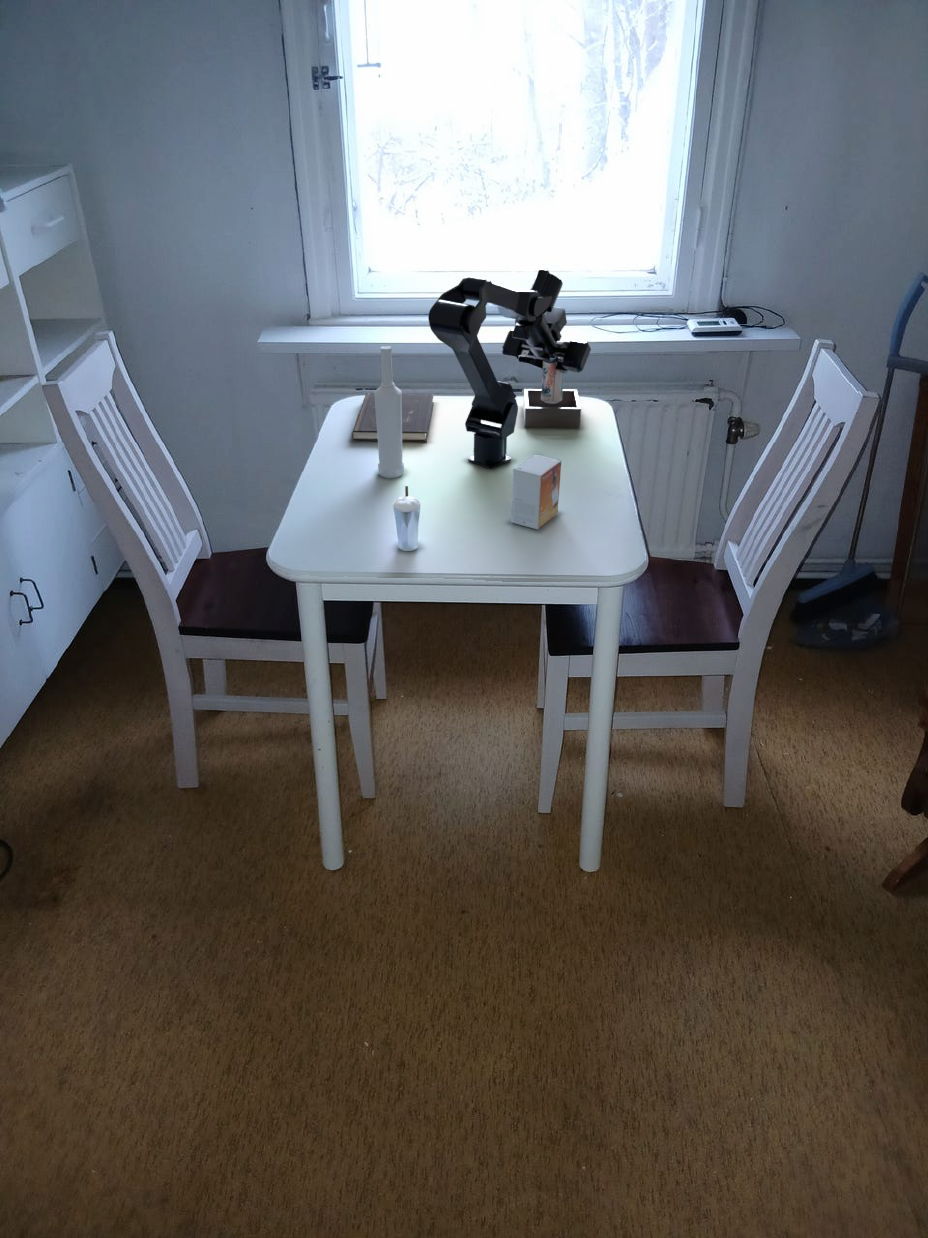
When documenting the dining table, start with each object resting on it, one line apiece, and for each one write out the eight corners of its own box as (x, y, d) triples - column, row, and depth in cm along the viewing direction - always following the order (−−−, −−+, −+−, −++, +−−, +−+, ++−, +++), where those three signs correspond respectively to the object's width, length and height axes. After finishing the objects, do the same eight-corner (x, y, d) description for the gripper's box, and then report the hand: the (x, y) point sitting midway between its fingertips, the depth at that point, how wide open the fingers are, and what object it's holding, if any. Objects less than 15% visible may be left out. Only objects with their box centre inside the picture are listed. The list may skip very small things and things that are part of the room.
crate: (579, 428, 202) (581, 408, 199) (524, 427, 202) (525, 408, 199) (575, 408, 212) (577, 389, 209) (523, 407, 212) (524, 388, 209)
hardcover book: (433, 403, 214) (433, 393, 213) (426, 442, 195) (426, 431, 194) (365, 402, 215) (365, 392, 213) (352, 440, 195) (351, 430, 194)
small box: (537, 530, 162) (540, 476, 156) (510, 522, 164) (512, 468, 159) (558, 513, 168) (562, 460, 162) (532, 506, 170) (534, 453, 164)
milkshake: (421, 538, 160) (420, 485, 154) (421, 553, 155) (420, 499, 150) (395, 538, 159) (393, 485, 154) (394, 553, 155) (392, 500, 149)
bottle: (373, 475, 181) (366, 349, 167) (387, 465, 185) (381, 341, 171) (395, 480, 179) (390, 353, 165) (409, 470, 183) (405, 345, 169)
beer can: (536, 398, 205) (539, 345, 199) (555, 395, 207) (558, 342, 200) (547, 405, 202) (550, 351, 195) (566, 402, 203) (569, 348, 197)
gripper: (591, 303, 185) (608, 344, 199) (510, 290, 193) (531, 331, 207) (571, 352, 183) (589, 390, 197) (490, 337, 191) (513, 374, 205)
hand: (556, 369), depth 202 cm, fingers closed on beer can, 5 cm apart
